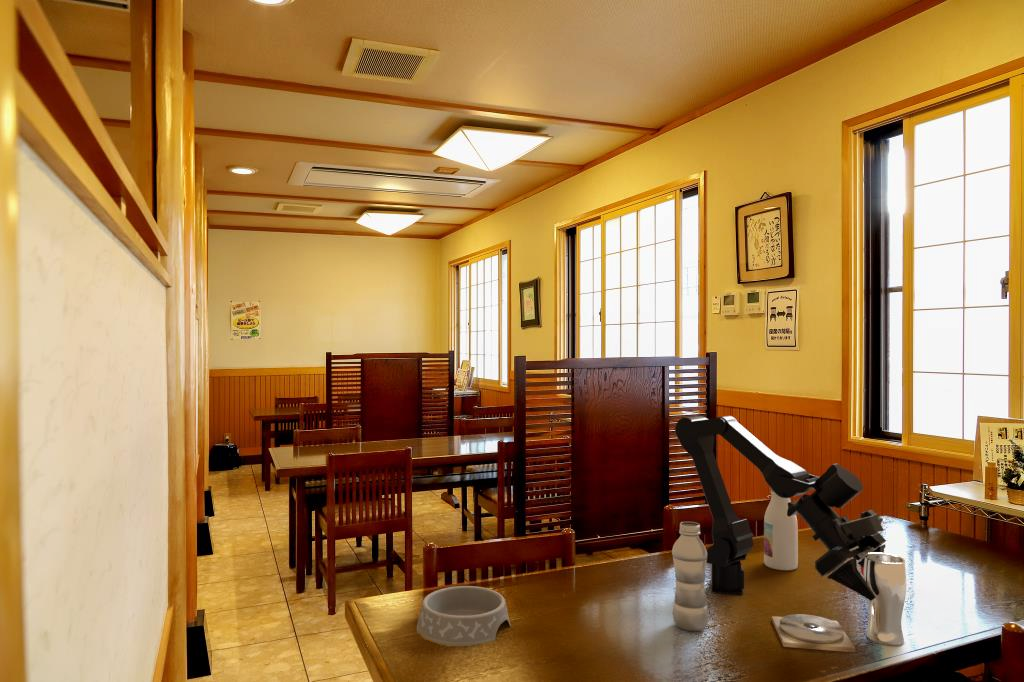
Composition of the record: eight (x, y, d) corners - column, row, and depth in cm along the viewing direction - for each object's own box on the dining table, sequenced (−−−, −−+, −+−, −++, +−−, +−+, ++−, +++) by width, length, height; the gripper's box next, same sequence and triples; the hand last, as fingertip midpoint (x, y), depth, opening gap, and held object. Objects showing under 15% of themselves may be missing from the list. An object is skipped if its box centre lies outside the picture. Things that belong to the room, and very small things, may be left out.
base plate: (783, 646, 123) (783, 642, 123) (771, 620, 135) (771, 616, 135) (855, 652, 121) (855, 647, 121) (837, 625, 133) (837, 620, 133)
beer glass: (912, 648, 122) (912, 564, 122) (870, 645, 124) (870, 562, 124) (898, 632, 129) (898, 553, 129) (859, 629, 131) (858, 551, 131)
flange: (786, 641, 124) (786, 635, 124) (774, 617, 134) (774, 611, 134) (851, 646, 122) (851, 640, 122) (834, 621, 132) (834, 616, 132)
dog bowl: (523, 617, 138) (523, 590, 138) (481, 655, 121) (481, 625, 121) (448, 604, 145) (448, 578, 145) (400, 638, 128) (400, 609, 128)
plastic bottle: (703, 638, 127) (702, 530, 127) (667, 630, 130) (667, 525, 130) (712, 626, 132) (712, 522, 132) (678, 618, 136) (678, 518, 136)
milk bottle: (800, 564, 169) (800, 483, 169) (794, 573, 163) (794, 489, 163) (767, 559, 173) (767, 480, 173) (760, 567, 167) (760, 485, 167)
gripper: (830, 505, 125) (896, 581, 116) (874, 490, 137) (937, 559, 128) (790, 539, 131) (849, 614, 122) (835, 522, 143) (892, 590, 134)
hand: (884, 593), depth 127 cm, fingers open, 9 cm apart
